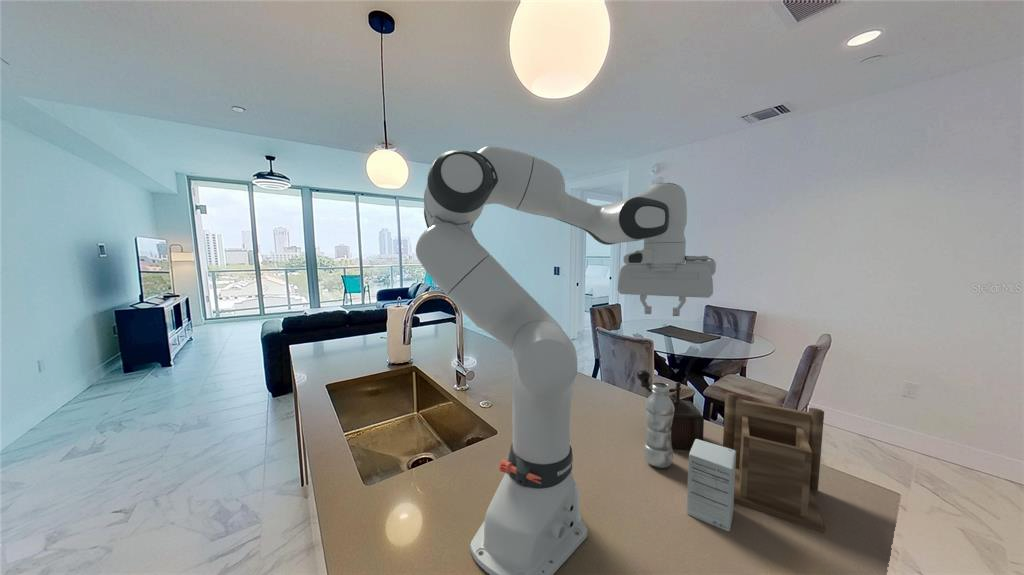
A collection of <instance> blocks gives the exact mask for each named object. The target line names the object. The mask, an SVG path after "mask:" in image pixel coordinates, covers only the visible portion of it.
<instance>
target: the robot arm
mask: <svg viewBox="0 0 1024 575" xmlns="http://www.w3.org/2000/svg"><path fill="white" fill-rule="evenodd" d="M565 189H566V184H565V179H564V176H563V173H562V171H561V170H560V169H559V168H557V167H556V166H555V165H554V164H552V163H550V162H548V161H546V160H544V159H542V158H539V157H537V156H535V155H531V154H527V153H525V152H522V151H518V150H514V149H511V148H507V147H506V148H505V147H499V146H491V145H489V146H488V145H487V146H484V147H482V148H480V149H479V150H478V151H470V150H462V149H455V150H449V151H446V152H445V151H444V152H443V153H441V154H440V155H439V156H437V158H436V159H435V160H434V161H433V163H432V165H431V166H430V168H429V171H428V174H427V183H426V186H425V190H424V193H423V208H424V209H423V217H424V220H425V224H426V227H427V228H426V229H425V230H423V232H422V234H421V235H420V237H419V238H418V240H417V243H416V247H415V254H416V257H417V260H418V261H419V262H420V264H421V266H422V267H423V268H424V270H425V271H426V273H427V274H428V276H430V278H431V279H432V280H433V282H434V283H435V284H436V286H438V288H439V289H440V290H441V291H442V292H443V293H444V294H445V295H446V296H447V298H449V300H450V301H452V302H453V303H454V304H455V306H456V307H457V308H458V309H460V311H462V313H464V315H465V316H466V317H467V318H468V319H469V320H470V321H471V322H472V323H473V324H474V325H475V326H476V327H478V328H479V329H481V330H483V331H484V332H486V333H487V334H489V335H490V336H491V337H492V338H494V339H495V340H497V342H499V343H501V345H503V347H505V349H507V350H508V352H509V353H510V354H511V372H512V373H511V374H512V375H511V376H512V377H511V379H512V380H511V382H512V383H511V386H512V387H511V389H512V393H511V394H512V397H511V398H512V400H511V401H512V407H511V408H512V415H511V416H512V417H511V418H512V419H511V420H512V442H511V445H510V448H509V452H508V458H507V459H502V460H501V461H500V462H499V465H498V466H499V467H498V470H499V471H500V472H502V473H504V475H503V477H502V479H501V481H500V483H499V485H498V487H497V489H496V491H495V493H494V495H493V497H492V499H491V501H490V503H489V505H488V508H487V510H486V512H485V516H484V521H483V522H482V524H481V525H480V527H479V528H478V530H477V532H476V533H475V535H474V537H473V538H472V539H471V542H470V547H469V550H470V554H471V556H472V558H473V560H474V561H475V562H476V564H478V566H479V567H481V569H483V570H484V572H486V573H487V574H489V575H555V573H556V572H557V571H558V570H559V568H560V567H561V566H562V565H563V564H564V563H565V562H566V561H567V560H568V558H570V557H571V555H572V554H573V553H574V552H575V551H576V550H577V548H578V547H579V546H580V545H581V544H582V543H583V542H584V541H585V540H586V539H587V537H588V528H587V526H586V525H585V523H584V522H583V520H582V519H581V505H580V502H581V501H580V489H579V486H578V484H577V482H576V480H575V478H574V475H573V473H572V470H573V462H574V461H573V460H574V455H573V450H572V449H573V448H572V446H571V409H572V400H573V396H574V391H575V390H574V389H575V385H576V384H575V382H576V378H577V374H578V356H577V355H578V354H577V350H576V347H575V345H574V343H573V341H572V339H571V338H570V337H569V335H568V334H567V333H566V332H565V331H564V329H563V327H561V325H560V324H559V322H557V320H555V319H554V317H552V316H551V315H550V314H549V312H548V311H546V309H545V308H544V307H543V306H542V305H541V304H540V303H539V302H538V301H536V299H535V298H534V297H532V296H531V294H530V293H529V292H528V291H527V290H525V288H524V287H522V286H521V284H520V283H519V282H518V281H517V280H516V279H515V278H514V277H513V276H512V275H511V274H510V273H509V272H508V271H507V270H506V269H505V268H504V267H503V266H502V264H500V263H499V262H498V261H497V260H496V258H494V256H493V255H492V254H490V252H489V251H488V250H487V249H486V248H485V247H484V246H482V244H480V243H479V241H478V240H477V239H476V238H477V237H476V236H475V235H474V232H473V229H472V228H473V227H474V224H475V223H476V221H477V220H478V219H479V217H480V216H481V214H482V212H483V209H484V208H485V206H487V205H492V204H494V205H501V206H504V207H507V208H510V209H512V210H516V211H519V212H522V213H526V214H529V215H535V216H540V217H545V218H551V219H554V220H558V221H560V222H562V223H565V224H568V225H571V226H573V227H576V228H579V229H581V230H583V231H585V232H586V233H588V234H589V235H590V236H591V237H592V238H593V239H594V240H596V241H597V242H598V243H600V244H601V245H606V246H610V245H611V246H612V245H616V244H620V243H629V242H630V243H631V242H639V241H641V240H643V249H641V250H636V251H634V252H630V253H627V254H625V255H624V256H623V263H624V265H622V266H621V268H620V270H619V272H618V279H617V287H616V288H617V289H616V290H617V291H618V293H619V294H620V295H633V296H635V295H637V296H639V301H640V302H641V304H642V306H643V308H644V311H643V312H644V315H652V308H653V307H652V305H648V303H647V302H646V300H647V299H648V296H653V297H654V296H655V297H656V296H657V297H678V302H679V304H678V305H677V307H672V316H673V317H680V314H681V309H682V307H683V306H684V304H686V303H687V302H686V300H687V299H686V298H701V299H702V298H704V299H705V298H706V299H707V298H708V299H709V298H710V297H712V296H713V295H714V280H713V276H714V275H715V273H716V270H717V266H716V265H717V263H716V261H715V259H713V258H711V257H709V256H707V255H701V256H698V255H686V247H687V246H686V243H687V242H686V241H687V240H686V238H685V230H686V226H687V219H688V204H687V195H686V191H685V188H683V187H682V186H681V185H679V184H676V183H673V182H672V183H671V182H658V183H654V184H651V185H650V186H649V187H648V188H646V189H645V190H644V191H642V192H640V193H638V194H636V195H633V196H631V197H628V198H624V199H622V200H619V201H616V202H613V203H609V204H608V203H607V204H603V205H596V204H592V203H589V202H588V201H584V200H582V199H580V198H577V197H575V196H572V195H571V194H569V193H568V192H567V191H566V190H565Z"/></svg>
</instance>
